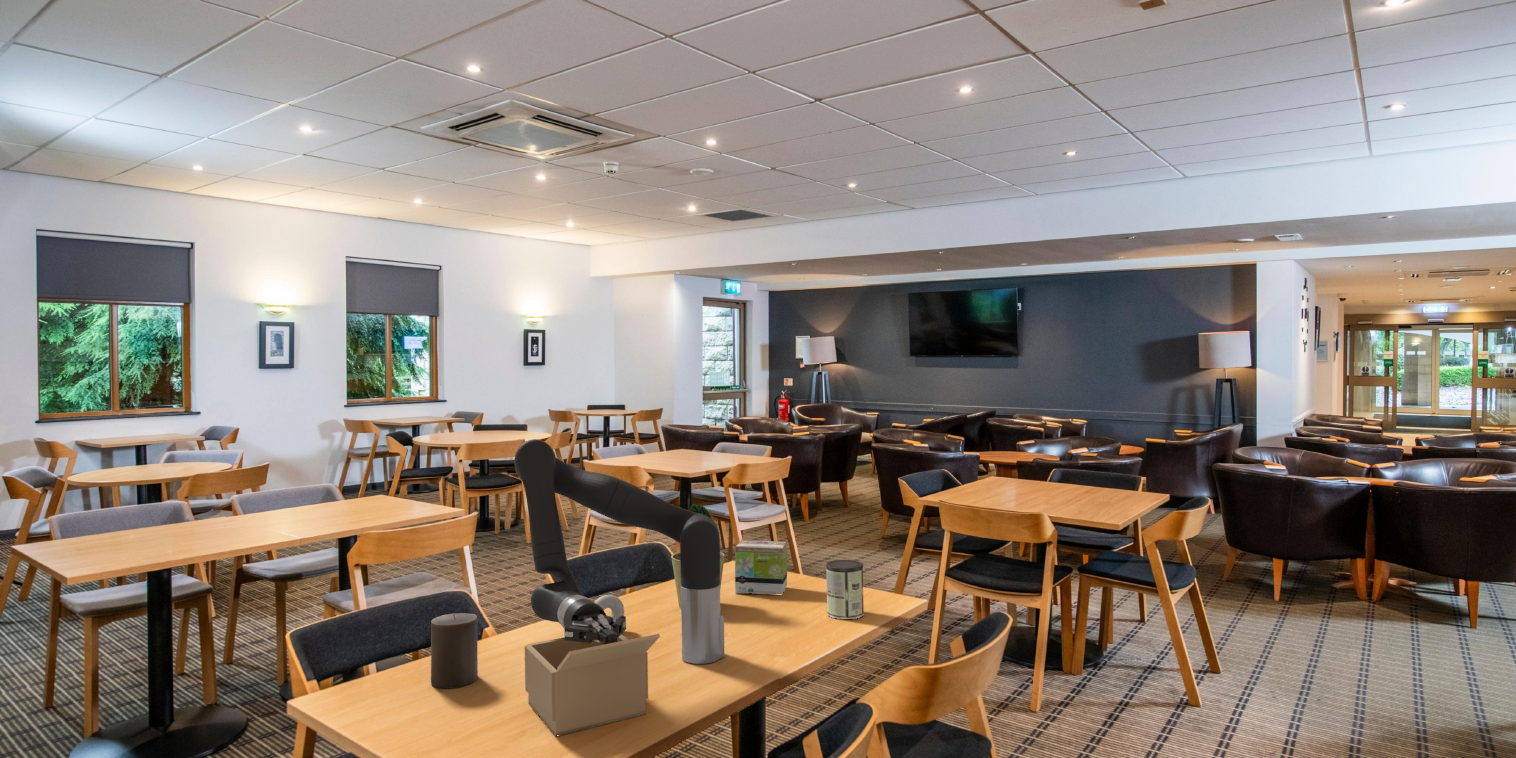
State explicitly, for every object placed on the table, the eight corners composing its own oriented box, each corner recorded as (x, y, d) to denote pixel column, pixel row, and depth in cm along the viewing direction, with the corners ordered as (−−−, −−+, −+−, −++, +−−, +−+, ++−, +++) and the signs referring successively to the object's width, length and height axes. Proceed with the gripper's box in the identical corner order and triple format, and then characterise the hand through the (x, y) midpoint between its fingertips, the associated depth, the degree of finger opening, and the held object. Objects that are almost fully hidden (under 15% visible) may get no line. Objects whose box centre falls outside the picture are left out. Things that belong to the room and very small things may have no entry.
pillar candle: (450, 692, 171) (450, 621, 171) (421, 683, 176) (421, 614, 176) (487, 677, 179) (487, 610, 179) (458, 669, 184) (458, 604, 184)
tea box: (734, 594, 244) (734, 546, 244) (740, 586, 254) (740, 539, 254) (783, 596, 242) (783, 547, 242) (787, 587, 252) (787, 540, 252)
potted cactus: (660, 608, 230) (659, 504, 230) (694, 596, 243) (693, 497, 243) (702, 617, 221) (701, 508, 221) (735, 604, 234) (734, 501, 234)
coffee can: (836, 607, 229) (836, 557, 229) (870, 612, 224) (869, 561, 224) (819, 616, 221) (819, 565, 221) (853, 622, 215) (853, 569, 215)
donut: (592, 638, 204) (592, 599, 204) (586, 635, 207) (585, 597, 207) (627, 630, 211) (626, 592, 211) (620, 627, 213) (620, 590, 213)
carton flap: (659, 633, 152) (659, 636, 151) (643, 650, 158) (644, 653, 157) (569, 651, 142) (570, 654, 142) (556, 668, 149) (557, 671, 148)
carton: (613, 683, 174) (612, 628, 174) (648, 713, 159) (647, 652, 159) (524, 703, 164) (523, 644, 164) (552, 737, 148) (551, 672, 148)
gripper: (548, 603, 159) (577, 626, 144) (611, 593, 166) (645, 613, 151) (549, 641, 159) (577, 667, 144) (612, 629, 166) (646, 653, 151)
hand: (612, 640), depth 148 cm, fingers closed
